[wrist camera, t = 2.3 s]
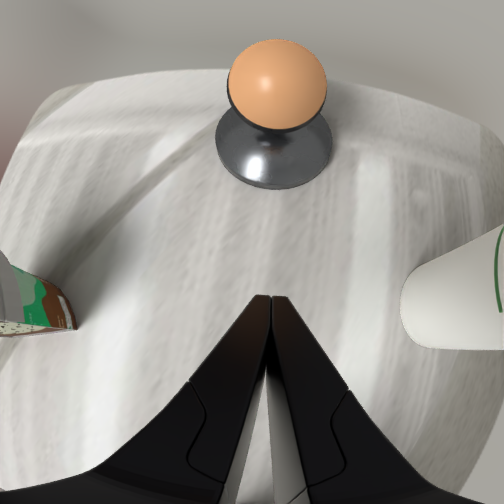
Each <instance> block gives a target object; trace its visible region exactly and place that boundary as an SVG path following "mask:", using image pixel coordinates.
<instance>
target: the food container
mask: <svg viewBox="0 0 504 504" xmlns="http://www.w3.org/2000/svg"><path fill="white" fill-rule="evenodd" d="M74 330H77V325H76V320H75V316H74V313H73V311H72V308H71V306H70V303H69V301H68V299H67V298H66V297H65V295H64V294H63V293H62V291H61V290H60V289H59V288H57V287H56V286H55V285H53V284H52V283H50V282H48V281H45V280H43V279H41V278H39V277H36V276H34V275H32V274H30V273H28V272H25V271H23V270H21V269H19V268H17V267H15V266H13V265H11V264H10V263H9V261H8V259H7V258H6V256H5V255H4V254H3V253H2V251H0V337H10V338H15V337H25V336H34V335H42V334H51V333H58V332H66V331H74Z"/></svg>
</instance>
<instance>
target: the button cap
mask: <svg viewBox="0 0 504 504" xmlns="http://www.w3.org/2000/svg"><path fill="white" fill-rule="evenodd" d="M326 89H327V81H326V76H325V72H324V69H323V67H322V65H321V64H320V62H319V61H318V59H317V58H316V57H315V55H314V54H312V53H311V52H310V51H309V50H308V49H306V48H305V47H303V46H301V45H299V44H297V43H295V42H292V41H287V40H281V39H271V40H265V41H261V42H258V43H256V44H253V45H252V46H250V47H248V48H247V49H246V50H244V51H243V52H242V53H241V54H240V55H239V56H238V57H237V59H236V60H235V62H234V64H233V66H232V68H231V70H230V74H229V91H230V95H231V98H232V101H233V103H234V105H235V106H236V107H237V109H238V110H239V111H240V112H241V114H242V115H244V116H245V117H246V118H247V119H249V120H250V121H251V122H253V123H255V124H257V125H260V126H263V127H266V128H272V129H287V128H292V127H295V126H298V125H301V124H302V123H304V122H306V121H308V120H309V119H310V118H312V117H313V116H314V115H315V114H316V113H317V111H318V110H319V109H320V107H321V105H322V104H323V101H324V99H325V95H326Z"/></svg>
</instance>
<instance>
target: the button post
mask: <svg viewBox="0 0 504 504" xmlns="http://www.w3.org/2000/svg"><path fill="white" fill-rule="evenodd" d="M231 68H232V67H231ZM230 70H231V69H230ZM229 74H230V72H229ZM326 93H327V89H326ZM227 94H228V99H229V102H230V104H231V106H232V107H231V108H230V109H229V110H228V111H227V112H226V113H225V114H224V115H223V116H222V118H221V119H220V121H219V123H218V126H217V129H216V135H215V140H216V146H217V151H218V155H219V157H220V160H221V162H222V163H223V165H224V166H225V168H226V169H227V170H228V171H229V172H230V173H231V174H232V175H234V176H235V177H236V178H238V179H239V180H241V181H243V182H245V183H247V184H249V185H252V186H255V187H259V188H263V189H271V190H281V189H289V188H294V187H297V186H300V185H303V184H305V183H307V182H309V181H310V180H312V179H313V178H315V177H316V176H317V175H318V174H319V173H320V172H321V171H322V170H323V168H324V167H325V165H326V163H327V161H328V158H329V156H330V153H331V149H332V134H331V131H330V128H329V126H328V124H327V122H326V121H325V119H324V118H323V116H322V115H321V114H320V111H321V109H322V107H323V105H324V103H325V99H326V95H325V99H324V101H323V104H322V105H321V107H320V109H319V110H318V111H317V113H316V114H315V115H314V116H313V117H312V118H310V119H309V120H308V121H306V122H304V123H302V124H301V125H298V126H295V127H292V128H287V129H272V128H266V127H263V126H260V125H257V124H255V123H253V122H251V121H250V120H249V119H247V118H246V117H245V116H244V115H242V114H241V112H240V111H239V110H238V109H237V107H236V106H235V105H234V103H233V101H232V98H231V95H230V91H229V75H228V79H227Z"/></svg>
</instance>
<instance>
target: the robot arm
mask: <svg viewBox="0 0 504 504" xmlns="http://www.w3.org/2000/svg"><path fill="white" fill-rule="evenodd" d="M265 371H266V387H267V401H268V415H269V429H270V444H271V458H272V473H273V488H274V503H275V504H484V503H480V502H477V501H474V500H471V499H467V498H465V497H462V496H459V495H456V494H453V493H450V492H448V491H445V490H443V489H440V488H438V487H436V486H435V485H433V484H431V483H430V482H428V481H427V480H426V479H425V478H423V477H422V476H421V475H420V474H419V473H418V472H417V471H416V470H415V469H414V468H413V467H412V465H411V464H410V463H409V462H408V461H407V460H406V459H405V458H404V457H403V455H402V454H401V453H400V452H399V451H398V450H397V449H396V448H395V447H394V445H393V444H392V443H391V442H390V441H389V440H388V439H387V438H386V436H385V435H384V434H383V433H382V432H381V431H380V429H379V428H378V427H377V426H376V425H375V423H374V422H373V421H372V420H371V418H370V417H369V416H368V414H367V413H366V412H365V410H364V409H363V407H362V406H361V405H360V403H359V402H358V400H357V399H356V397H355V396H354V394H353V393H352V391H351V390H348V389H349V387H348V386H347V384H346V383H345V381H344V380H343V378H342V377H341V375H340V374H339V372H338V371H337V369H336V368H335V366H334V365H333V363H332V362H331V360H330V359H329V357H328V356H327V355H326V353H325V352H324V350H323V349H322V347H321V346H320V344H319V343H318V341H317V340H316V338H315V337H314V335H313V334H312V332H311V331H310V329H309V328H308V326H307V325H306V324H305V322H304V321H303V319H302V318H301V316H300V315H299V313H298V312H297V310H296V309H295V307H294V306H293V304H292V303H291V301H290V300H289V299H288V297H286V296H272V297H270V296H269V295H255V296H254V297H253V298H252V300H251V301H250V302H249V303H248V305H247V306H246V307H245V309H244V310H243V311H242V313H241V314H240V315H239V316H238V318H237V319H236V320H235V322H234V323H233V324H232V325H231V327H230V328H229V329H228V331H227V332H226V333H225V334H224V336H223V337H222V338H221V339H220V341H219V342H218V343H217V345H216V346H215V347H214V348H213V350H212V351H211V352H210V353H209V355H208V356H207V357H206V358H205V360H204V361H203V362H202V363H201V365H200V366H199V367H198V368H197V370H196V371H195V372H194V373H193V375H192V376H191V377H190V378H189V382H188V381H187V382H186V383H185V384H184V385H183V387H182V388H181V389H180V390H179V392H178V393H177V394H176V395H175V396H174V397H173V398H172V400H171V401H170V402H169V403H168V404H167V405H166V406H165V407H164V409H162V410H161V411H160V412H159V413H158V414H157V415H156V416H155V417H154V418H153V419H152V420H151V421H150V422H149V423H148V424H147V425H146V426H145V427H144V428H142V429H141V430H140V431H139V432H138V433H137V434H136V435H134V436H133V437H132V438H131V439H130V440H129V441H128V442H126V443H125V444H124V445H123V446H122V447H121V448H119V449H118V450H117V451H116V452H115V453H114V454H112V455H111V456H110V457H109V458H107V459H106V460H105V461H104V462H102V463H101V464H99V465H98V466H96V467H94V468H93V469H91V470H89V471H86V472H84V473H82V474H79V475H75V476H72V477H69V478H65V479H61V480H57V481H54V482H50V483H45V484H41V485H36V486H32V487H27V488H21V489H16V490H10V491H5V490H3V489H1V488H0V504H235V502H236V498H237V494H238V490H239V486H240V483H241V479H242V475H243V471H244V467H245V463H246V458H247V454H248V450H249V446H250V442H251V437H252V433H253V429H254V424H255V420H256V416H257V411H258V407H259V402H260V397H261V393H262V388H263V383H264V378H265Z"/></svg>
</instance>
